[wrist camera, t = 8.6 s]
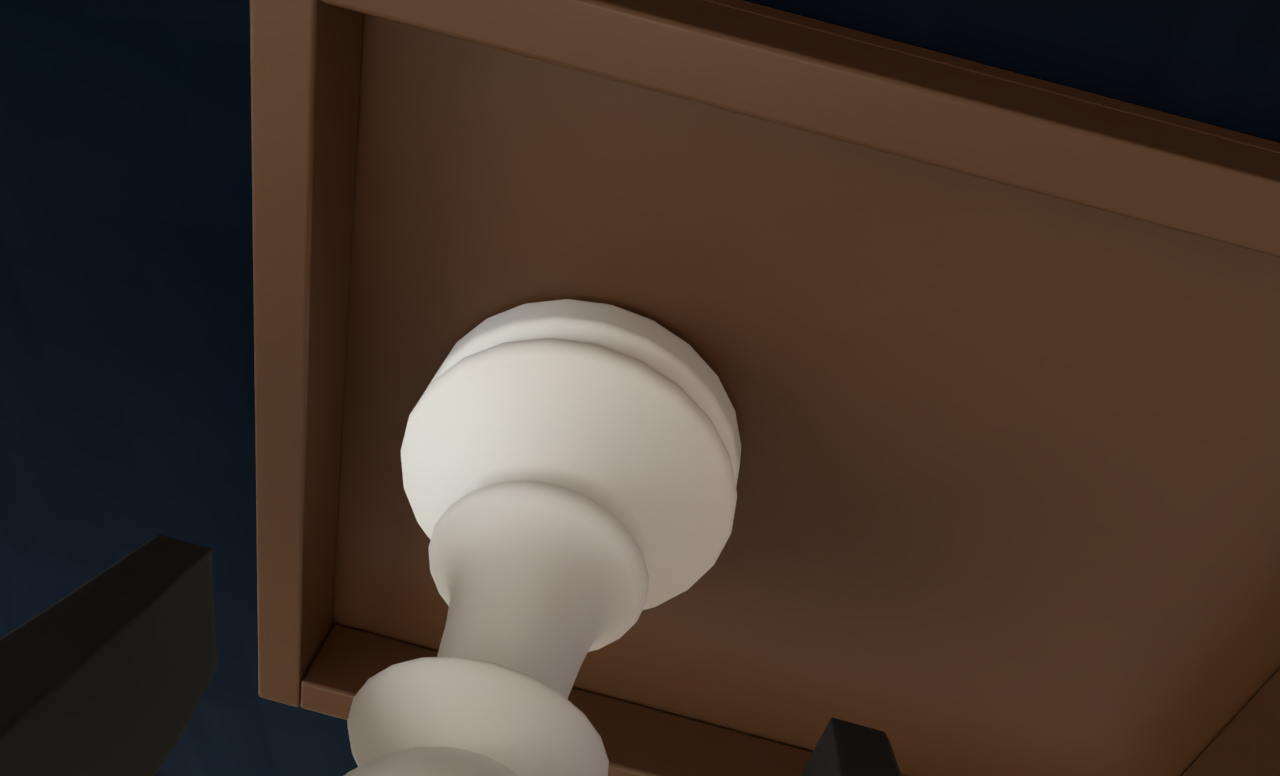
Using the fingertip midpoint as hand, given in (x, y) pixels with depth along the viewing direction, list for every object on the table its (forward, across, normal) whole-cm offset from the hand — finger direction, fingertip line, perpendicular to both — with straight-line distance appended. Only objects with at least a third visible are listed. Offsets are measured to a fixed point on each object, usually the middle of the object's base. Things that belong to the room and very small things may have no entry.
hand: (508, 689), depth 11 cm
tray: (+6, -4, 0) cm, 7 cm away
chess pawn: (+5, 0, 0) cm, 5 cm away
